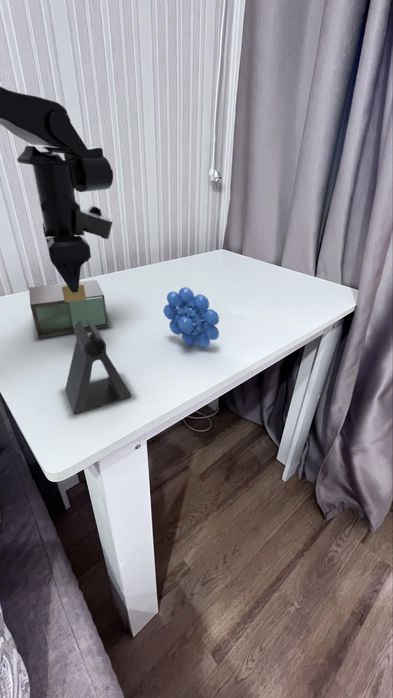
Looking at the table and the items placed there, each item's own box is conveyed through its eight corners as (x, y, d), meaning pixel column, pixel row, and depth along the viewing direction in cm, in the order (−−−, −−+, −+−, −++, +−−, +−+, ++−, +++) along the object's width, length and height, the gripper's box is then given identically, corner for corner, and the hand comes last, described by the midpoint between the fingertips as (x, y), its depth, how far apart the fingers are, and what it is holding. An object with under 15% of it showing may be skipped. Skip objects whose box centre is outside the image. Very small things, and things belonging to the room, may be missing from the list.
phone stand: (73, 415, 49) (58, 346, 42) (65, 391, 53) (50, 326, 47) (131, 397, 53) (126, 332, 46) (119, 376, 57) (113, 314, 51)
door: (70, 330, 68) (62, 287, 63) (69, 327, 69) (61, 285, 64) (106, 324, 71) (101, 282, 66) (105, 322, 71) (100, 281, 66)
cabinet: (38, 339, 66) (30, 307, 62) (36, 316, 74) (28, 287, 70) (109, 327, 71) (105, 297, 67) (100, 307, 79) (96, 279, 75)
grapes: (154, 348, 65) (152, 291, 59) (169, 332, 70) (169, 279, 64) (209, 363, 62) (213, 304, 55) (221, 345, 67) (226, 290, 60)
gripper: (117, 202, 51) (125, 296, 60) (96, 186, 65) (104, 264, 74) (39, 205, 47) (59, 305, 55) (34, 187, 61) (51, 269, 70)
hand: (72, 283), depth 64 cm, fingers open, 9 cm apart
